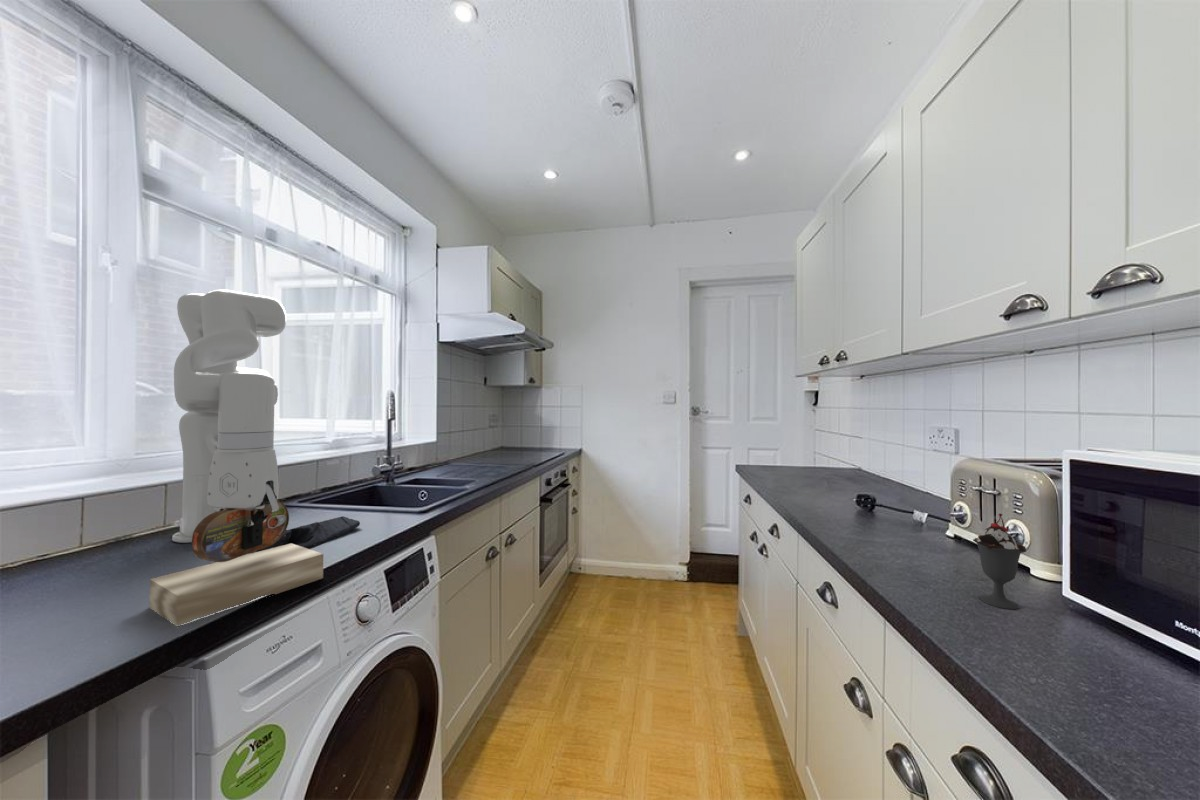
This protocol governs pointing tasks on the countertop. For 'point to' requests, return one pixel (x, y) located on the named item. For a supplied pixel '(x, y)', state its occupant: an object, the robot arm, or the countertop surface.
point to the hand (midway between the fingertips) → (244, 545)
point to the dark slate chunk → (316, 532)
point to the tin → (234, 534)
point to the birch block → (233, 582)
